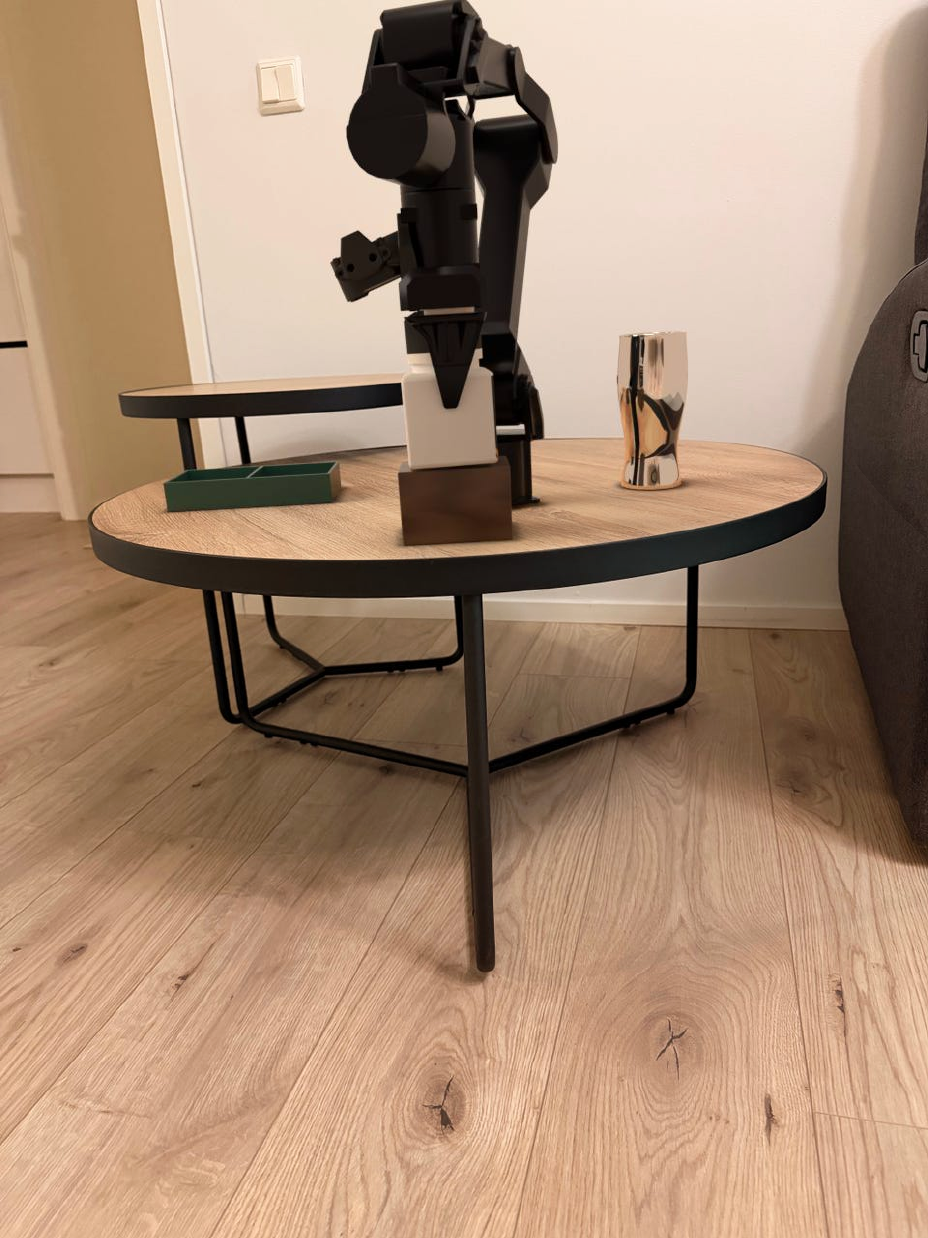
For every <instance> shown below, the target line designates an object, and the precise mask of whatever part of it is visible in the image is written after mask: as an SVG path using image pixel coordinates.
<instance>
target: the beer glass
mask: <svg viewBox="0 0 928 1238" xmlns="http://www.w3.org/2000/svg"><path fill="white" fill-rule="evenodd" d="M688 358H689V357H688V343H687V331H685V330H684V331H683V330H681V331H680V330H677V331H676V330H675V331H673V330H672V331H654V332H653V331H652V332H634V333H624V334H623V333H622V334H619V335H618V347H617V358H616V359H617V360H616V394H617V403H618V409H619V416H620V421H621V427H622V434H623V440H624V462H623V468H622V469H623V470H622V474H621V481H620V484H621V486H622V487H623V488H625V489H631V490H637V491H639V490H640V491H641V490H642V491H657V490H666V489H674V488H677V487H679V486H681V484H682V476H681V470H680V463H679V451H678V450H679V439H680V433H681V427H682V421H683V416H684V411H685V406H686V399H687V393H688V380H689V378H688V377H689V359H688Z"/></svg>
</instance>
